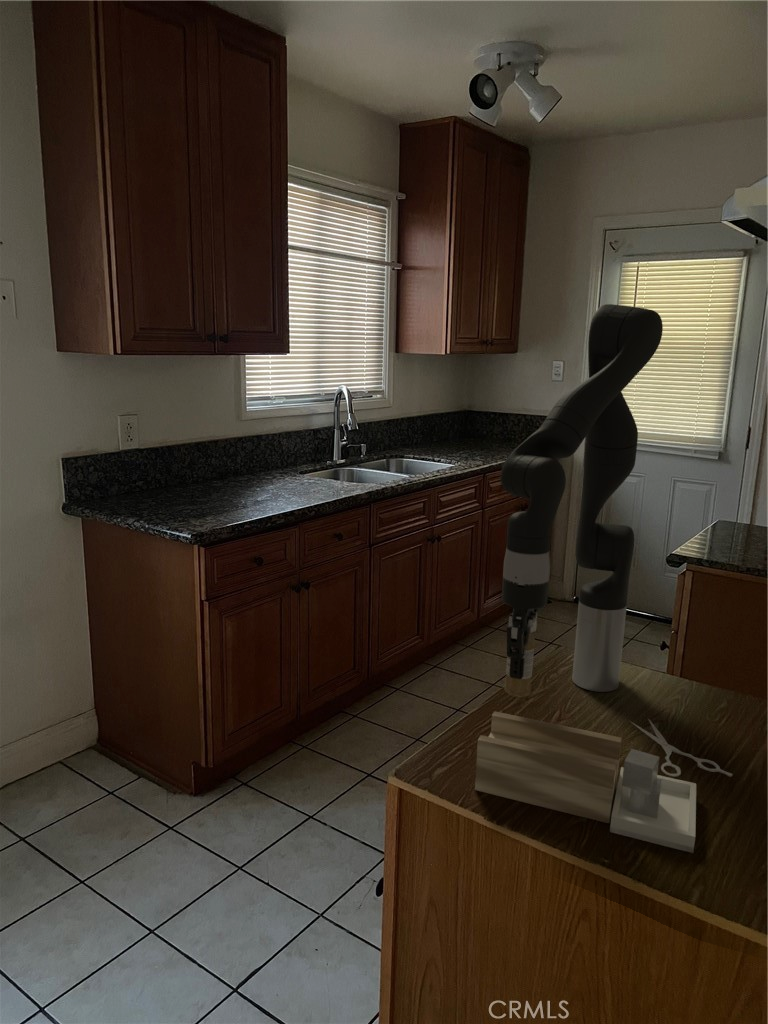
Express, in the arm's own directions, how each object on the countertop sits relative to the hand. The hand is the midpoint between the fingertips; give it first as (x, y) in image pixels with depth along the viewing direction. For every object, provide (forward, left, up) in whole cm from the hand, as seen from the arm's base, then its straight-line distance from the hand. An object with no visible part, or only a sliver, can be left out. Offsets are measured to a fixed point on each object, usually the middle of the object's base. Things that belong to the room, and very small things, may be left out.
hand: (519, 671), depth 129 cm
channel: (+12, +8, -13) cm, 19 cm away
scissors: (-9, +25, -14) cm, 30 cm away
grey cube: (+13, +21, -8) cm, 26 cm away
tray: (+12, +24, -13) cm, 30 cm away
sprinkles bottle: (0, 0, -4) cm, 4 cm away
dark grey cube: (+12, +20, -10) cm, 26 cm away
